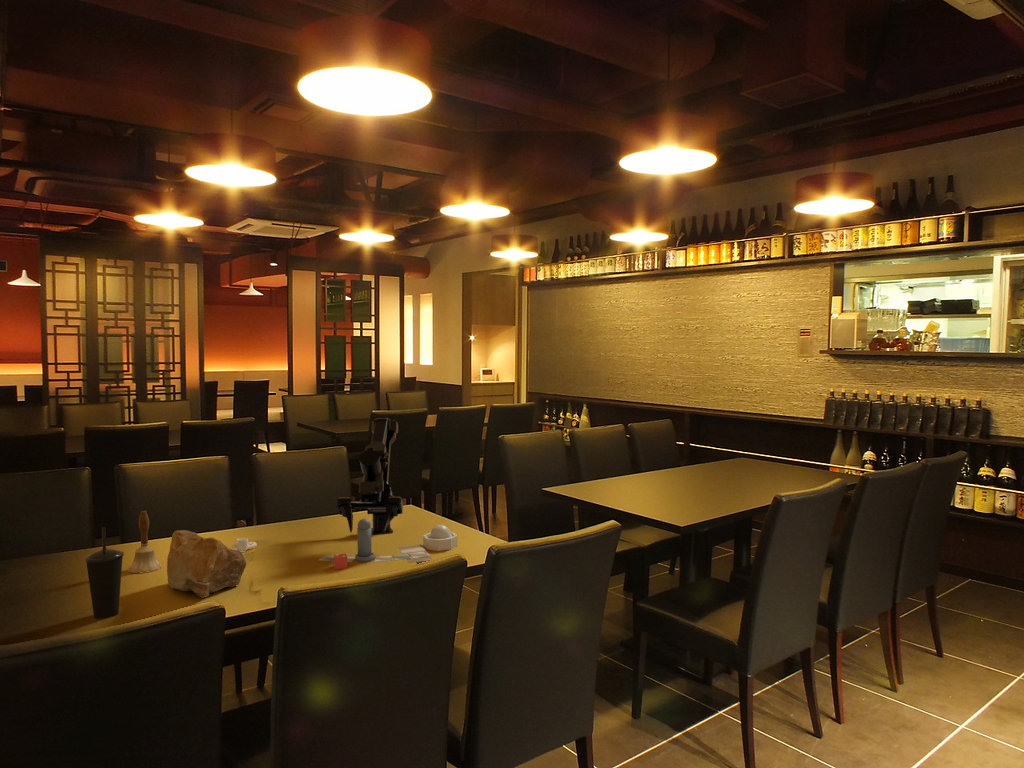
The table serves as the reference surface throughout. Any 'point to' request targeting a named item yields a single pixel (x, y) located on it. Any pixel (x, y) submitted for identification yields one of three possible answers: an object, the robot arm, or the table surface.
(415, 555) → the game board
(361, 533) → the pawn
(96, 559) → the drinking cup
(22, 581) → the table surface
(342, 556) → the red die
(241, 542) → the teacup and saucer
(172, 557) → the rough brown rock
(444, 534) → the dome button
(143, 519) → the hand bell
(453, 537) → the dome housing
